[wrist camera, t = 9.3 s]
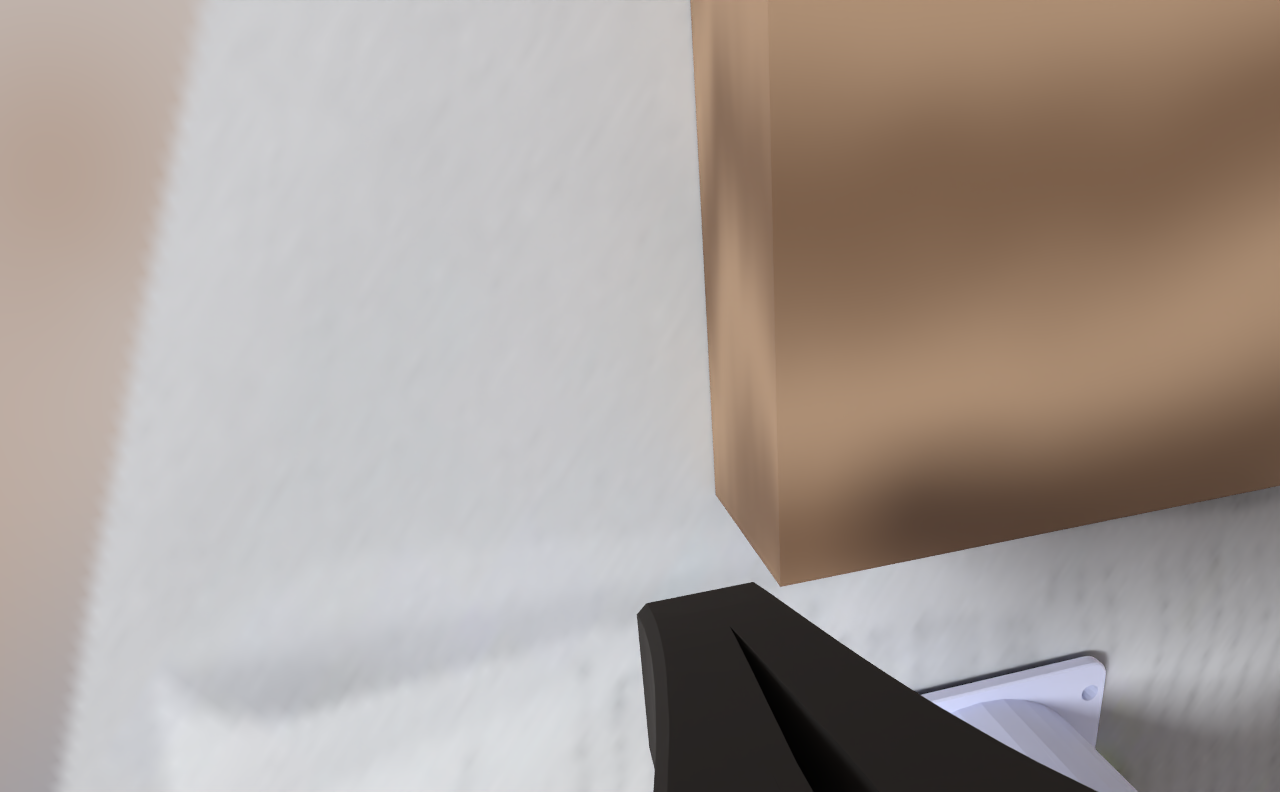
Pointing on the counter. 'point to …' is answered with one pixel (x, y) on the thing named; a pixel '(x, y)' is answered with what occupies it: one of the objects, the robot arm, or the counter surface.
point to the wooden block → (985, 267)
